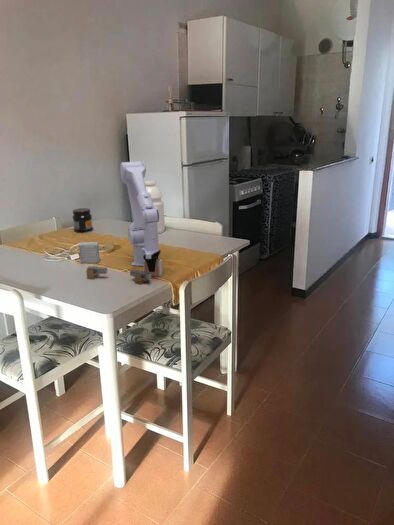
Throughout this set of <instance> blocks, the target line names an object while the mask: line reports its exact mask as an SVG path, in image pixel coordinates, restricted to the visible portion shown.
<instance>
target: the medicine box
mask: <svg viewBox="0 0 394 525" xmlns="http://www.w3.org/2000/svg"><path fill="white" fill-rule="evenodd" d="M78 251H79V258H80V259H79V260H80V264H98V263H100V261H101V257H100V248H99V242H98V241H96V242H95V241H90V242H89V241H88V242H86V241H85V242H81V243H80V244H79V245H78Z"/></svg>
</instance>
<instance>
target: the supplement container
mask: <svg viewBox="0 0 394 525" xmlns="http://www.w3.org/2000/svg"><path fill="white" fill-rule="evenodd" d="M92 217H93V215H92V214H91V209H90V208H87V207H81V208H75V209H73V210H72V221H73V222H72V223H73V231H75V232H76V233H81V234H83V233H89V232H91V231H93V230H94V226H93V225H94V224H93V219H92Z"/></svg>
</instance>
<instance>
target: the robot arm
mask: <svg viewBox="0 0 394 525" xmlns="http://www.w3.org/2000/svg"><path fill="white" fill-rule="evenodd" d="M119 165H120V166H119V172H120V173H119V174H120V177H121V182H122V183H123V184H125V185H126V187H127V193H128V198H129V199H128V200H129V204H130V211H131V216H132V223H131V224H130V225H129V226H128V227H127V238H128V239H127V240H128V241H129V244H130V245H132V250H133V261H132V262H131V263H130V266H134V267H135V266H141V267H143V261H144V260H145V261H146V263H147V266H148V269H149V272H155V265H156V260H157V259H159V256H160V254H161V253H162V252H161V250H160V246H159V244H160V243H159V234H158V224H157V222H159V211H158V209H157V208H156V206H154V204H153V201H152V198H151V195H150V193H148V192H147V191H146V186H145V182H144V181H145V177H146V173H147V166H146V163H145V162H144V161H143V160H139V161H126V162H125V161H122V162H121V163H120V164H119ZM139 228H143V229H139Z"/></svg>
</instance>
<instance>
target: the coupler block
mask: <svg viewBox="0 0 394 525" xmlns="http://www.w3.org/2000/svg"><path fill="white" fill-rule="evenodd" d="M142 267H143V268H142V270H143V271H147V272H149V269H148V266H147V263H146V261H145V260H144V261H143V266H142ZM149 273H151V277H161V276H162V275H163V273H164V272H163V259H162V258H161V259H159V258H158V259H157V260H156V265H155V272H149Z"/></svg>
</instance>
